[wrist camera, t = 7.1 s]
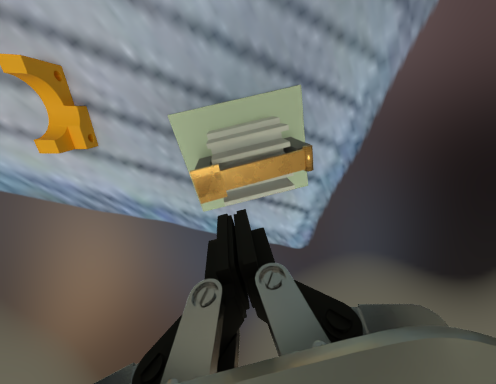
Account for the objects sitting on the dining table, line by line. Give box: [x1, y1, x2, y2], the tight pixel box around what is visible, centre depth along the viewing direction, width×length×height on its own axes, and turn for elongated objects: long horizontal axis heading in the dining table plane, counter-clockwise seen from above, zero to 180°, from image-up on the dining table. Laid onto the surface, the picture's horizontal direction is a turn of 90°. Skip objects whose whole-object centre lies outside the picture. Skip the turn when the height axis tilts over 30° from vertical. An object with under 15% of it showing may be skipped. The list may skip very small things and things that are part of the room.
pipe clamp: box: [0, 54, 98, 153], centre depth 27 cm, size 12×4×6 cm, turn 178°
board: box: [168, 85, 310, 212], centre depth 32 cm, size 24×20×10 cm
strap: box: [189, 145, 313, 204], centre depth 26 cm, size 18×5×1 cm, turn 102°
